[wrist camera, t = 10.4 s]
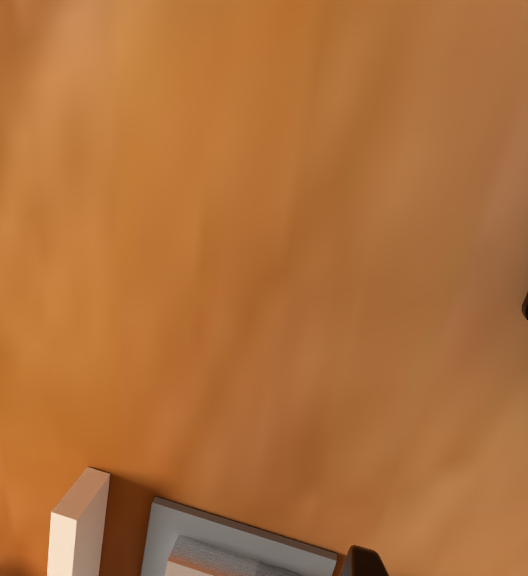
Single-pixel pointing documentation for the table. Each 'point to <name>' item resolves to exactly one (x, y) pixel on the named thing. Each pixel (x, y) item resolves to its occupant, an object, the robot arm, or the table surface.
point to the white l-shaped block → (79, 527)
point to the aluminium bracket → (215, 562)
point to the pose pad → (226, 541)
